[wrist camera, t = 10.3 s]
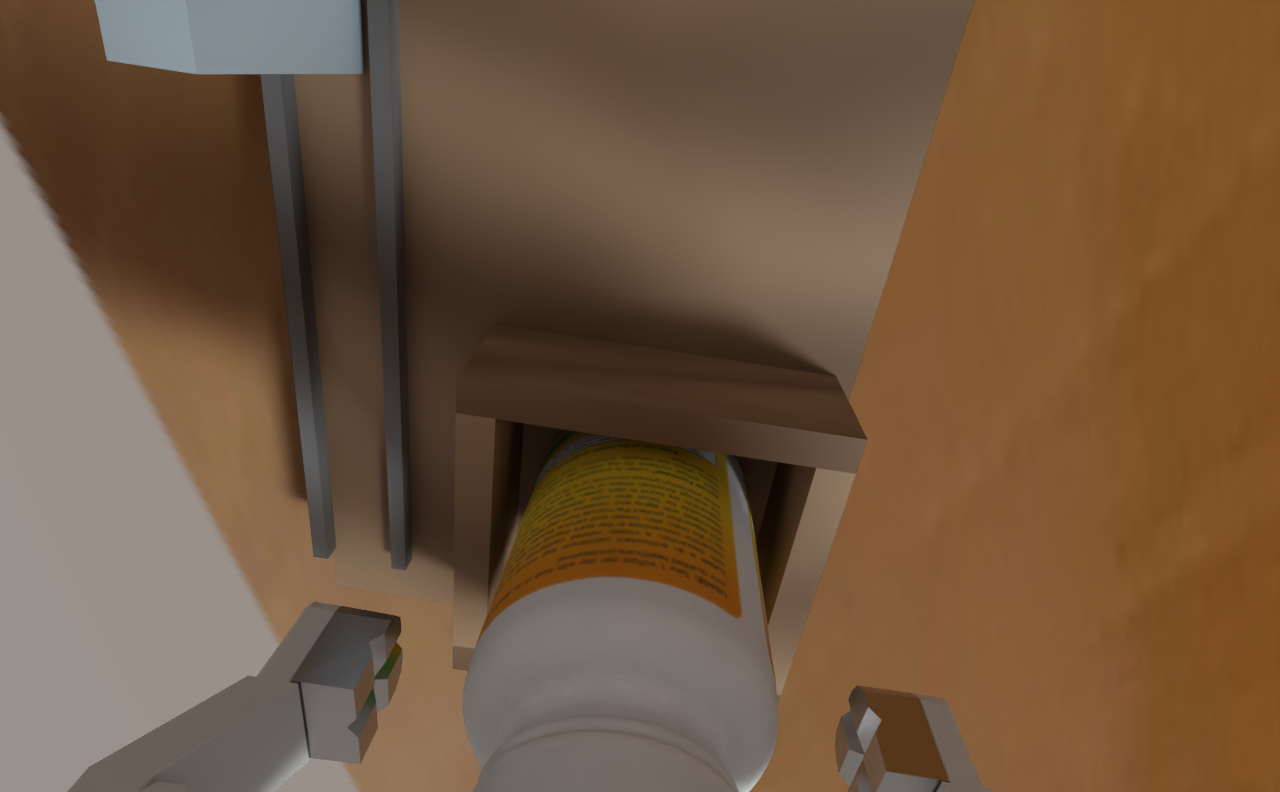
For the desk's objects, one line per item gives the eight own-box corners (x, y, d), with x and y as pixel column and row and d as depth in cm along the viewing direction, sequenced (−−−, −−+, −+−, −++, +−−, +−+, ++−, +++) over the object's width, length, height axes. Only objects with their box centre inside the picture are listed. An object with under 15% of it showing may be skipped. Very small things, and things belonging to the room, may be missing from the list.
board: (279, -242, 12) (94, -384, 8) (992, -132, 12) (1129, -225, 8) (345, 557, 21) (268, 666, 17) (765, 621, 21) (782, 744, 17)
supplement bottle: (500, 454, 17) (305, 851, 8) (680, 358, 16) (672, 722, 7) (611, 594, 19) (546, 1038, 10) (782, 521, 17) (876, 971, 9)
